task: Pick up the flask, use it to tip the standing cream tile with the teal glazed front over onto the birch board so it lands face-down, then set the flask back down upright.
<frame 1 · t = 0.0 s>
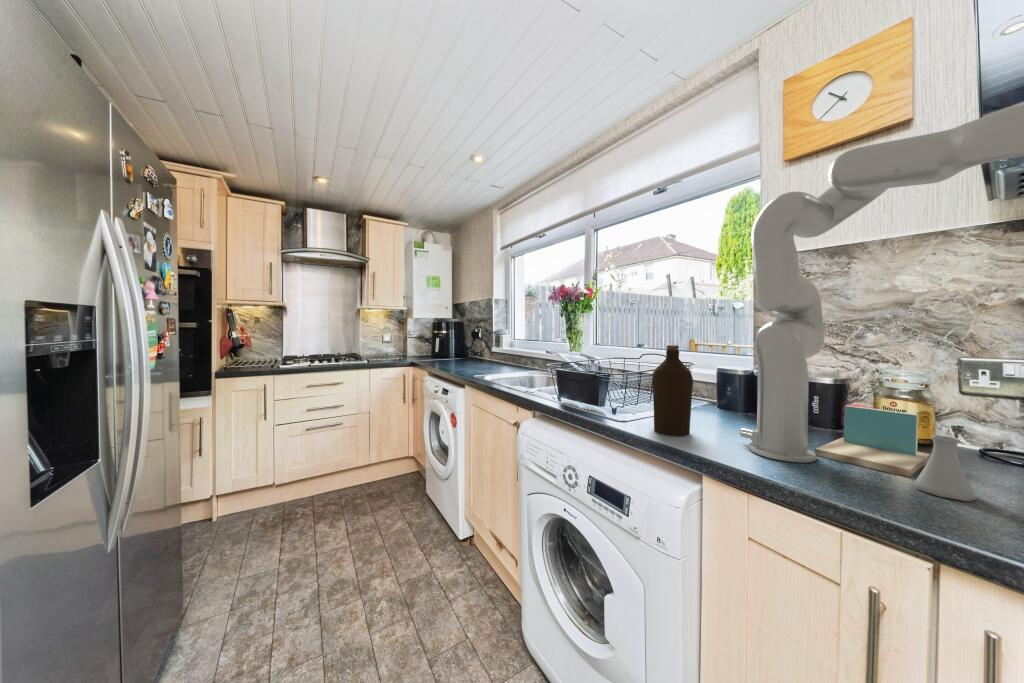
tile: (878, 447, 84), point 1 cm above the worktop, touching board
flask: (943, 494, 63), on the worktop
olive oil: (671, 432, 102), on the worktop
board: (871, 457, 81), on the worktop
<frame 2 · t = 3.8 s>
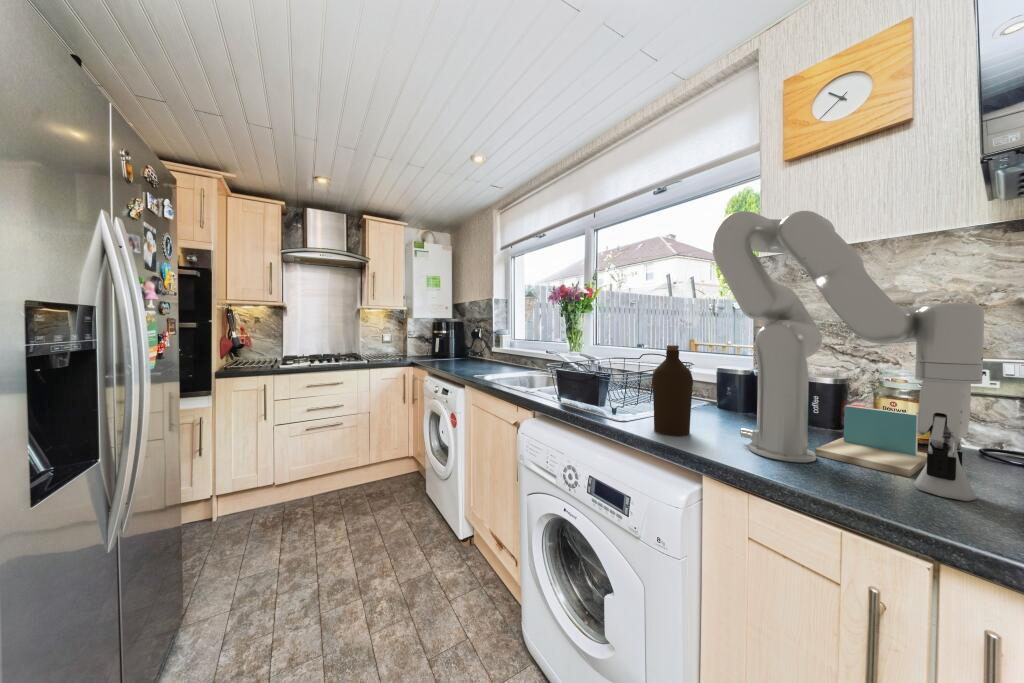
hand: (944, 473, 63), 3 cm above the worktop, tool pointing down, fingers closed on flask, 4 cm apart
flask: (943, 493, 63), on the worktop, touching gripper
everything else where it was.
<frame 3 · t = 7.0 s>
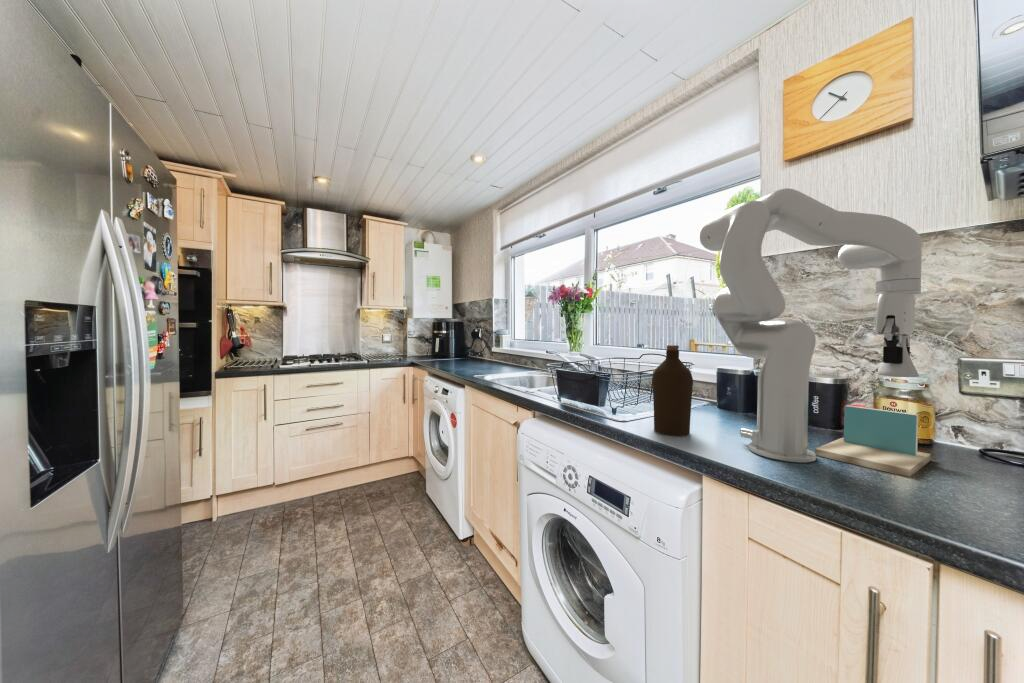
hand: (896, 362, 87), 22 cm above the worktop, tool pointing down, fingers closed on flask, 4 cm apart
flask: (897, 377, 87), point 18 cm above the worktop, touching gripper
everything else where it was.
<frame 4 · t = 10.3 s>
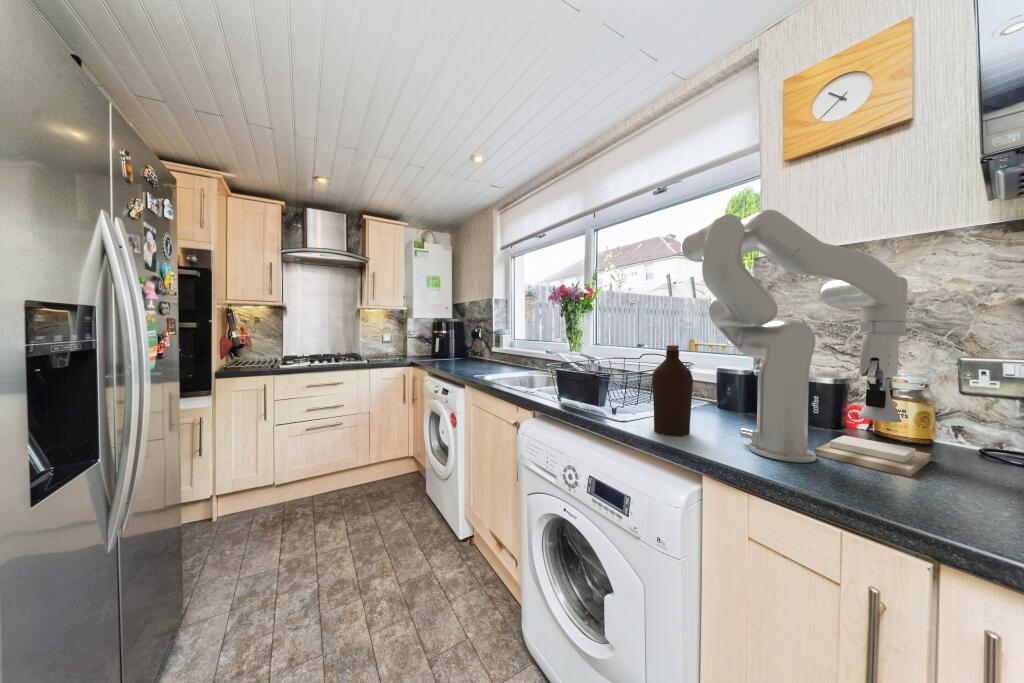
hand: (878, 405, 84), 12 cm above the worktop, tool pointing down, fingers closed on flask, 4 cm apart
tile: (877, 445, 83), point 2 cm above the worktop, tilted 90°, touching board
flask: (879, 420, 84), point 8 cm above the worktop, touching gripper
everything else where it was.
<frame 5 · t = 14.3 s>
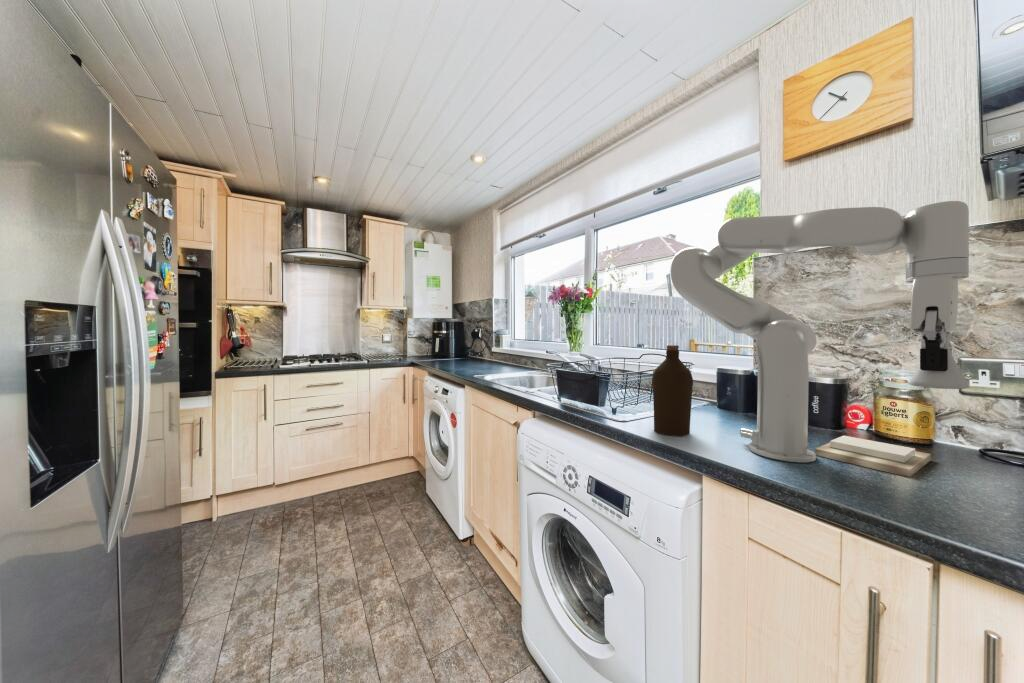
hand: (935, 368, 66), 22 cm above the worktop, tool pointing down, fingers closed on flask, 4 cm apart
flask: (937, 388, 66), point 18 cm above the worktop, touching gripper
everything else where it was.
when the fingers open (5 cm above the worktop, at t = 18.1 s): flask drops 1 cm, on the worktop.
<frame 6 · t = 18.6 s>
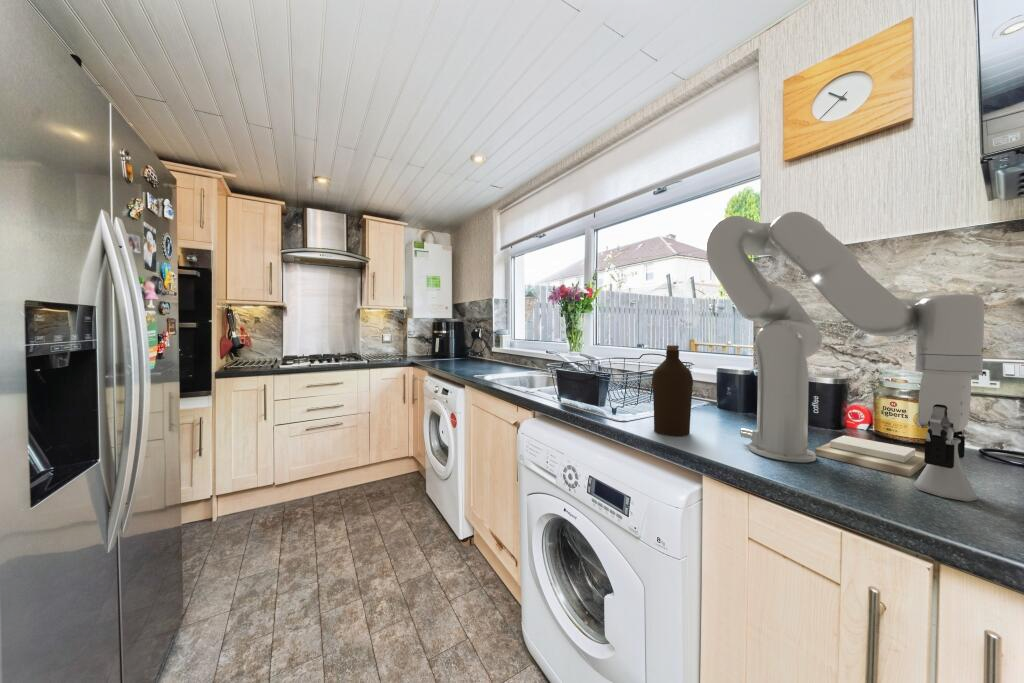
hand: (944, 460, 63), 6 cm above the worktop, tool pointing down, fingers open, 9 cm apart
flask: (944, 494, 63), on the worktop
everything else where it was.
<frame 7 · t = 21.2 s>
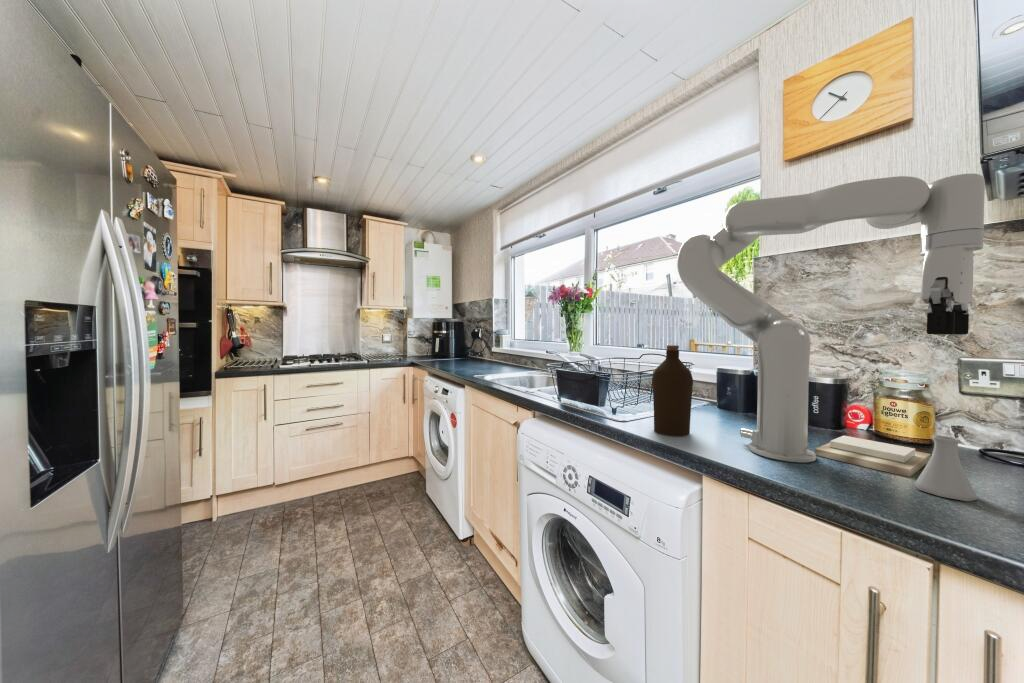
hand: (947, 334, 68), 28 cm above the worktop, tool pointing down, fingers open, 9 cm apart
nothing on the worktop moved.
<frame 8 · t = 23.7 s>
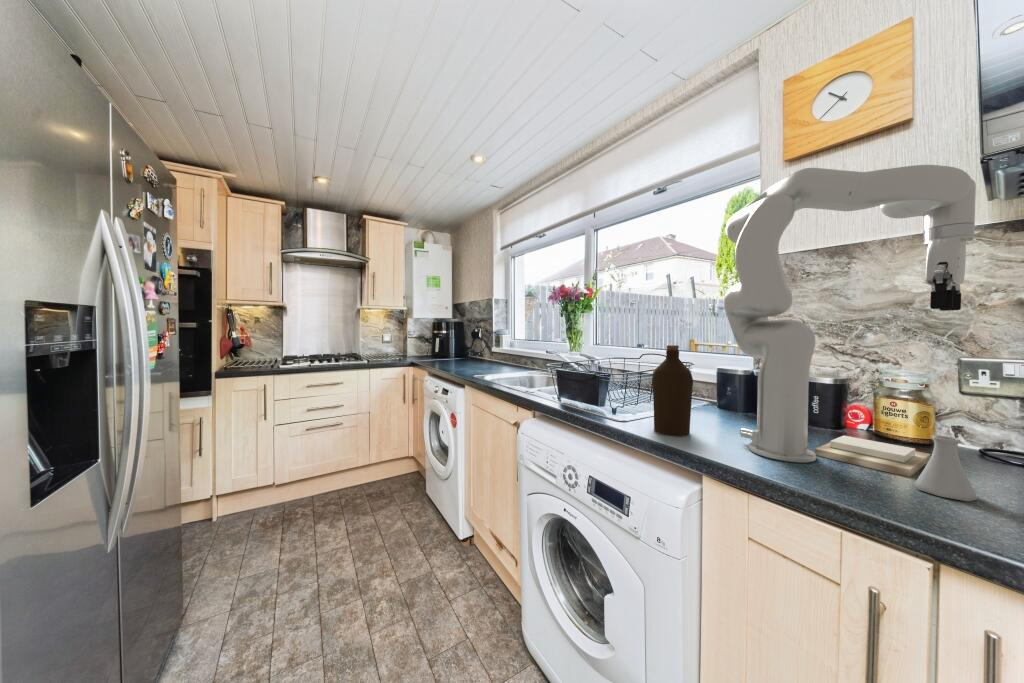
hand: (945, 309, 83), 34 cm above the worktop, tool pointing down, fingers open, 9 cm apart
nothing on the worktop moved.
at the end: tile tilted 90°; the gripper is holding nothing; flask tilted 0° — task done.
